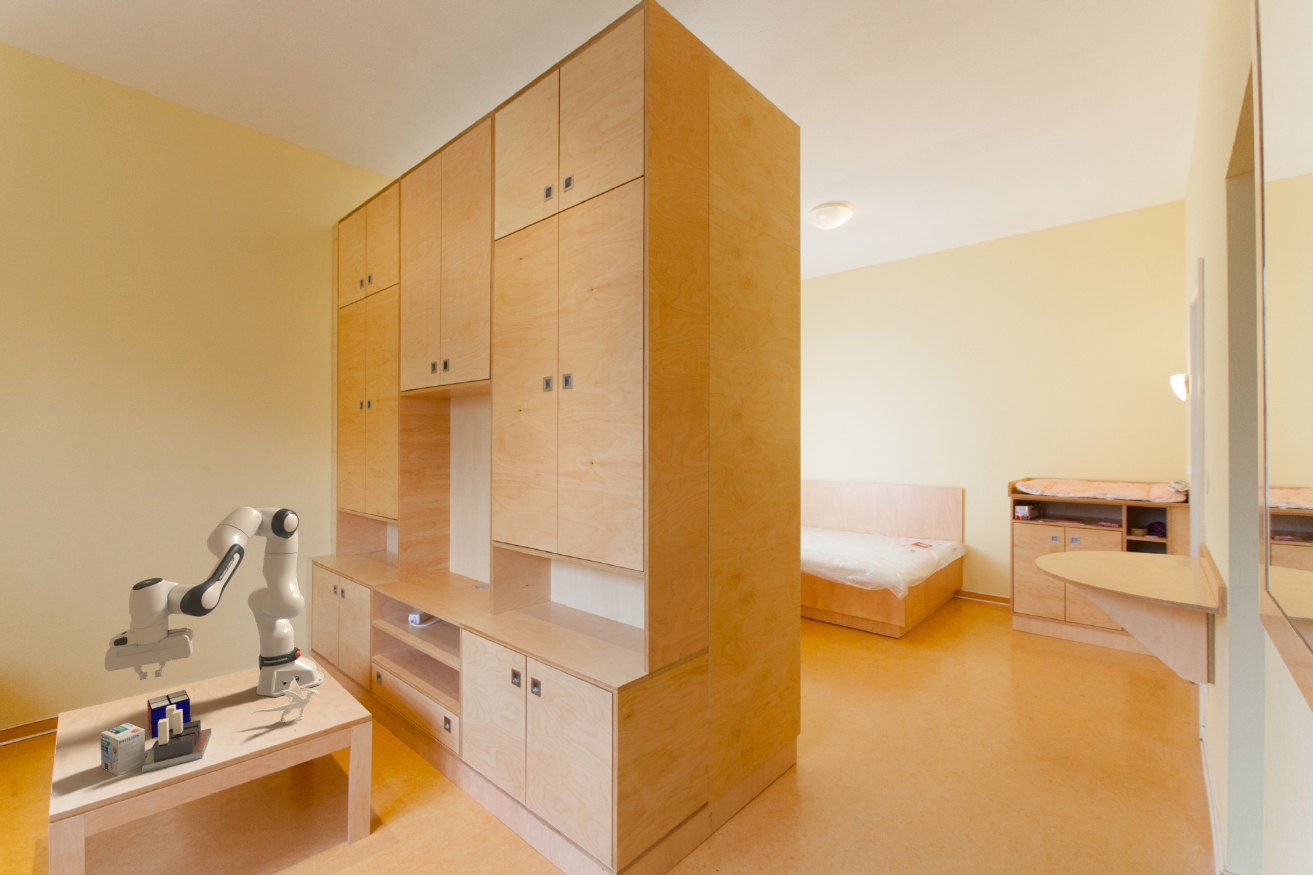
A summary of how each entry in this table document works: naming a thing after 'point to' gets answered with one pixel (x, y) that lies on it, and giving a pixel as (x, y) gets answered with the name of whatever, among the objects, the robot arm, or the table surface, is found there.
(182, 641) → the robot arm
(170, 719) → the handle
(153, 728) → the puzzle cube
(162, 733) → the handle
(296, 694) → the dragon
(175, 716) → the handle
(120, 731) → the light bulb box
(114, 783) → the table surface
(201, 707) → the table surface
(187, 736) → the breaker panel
